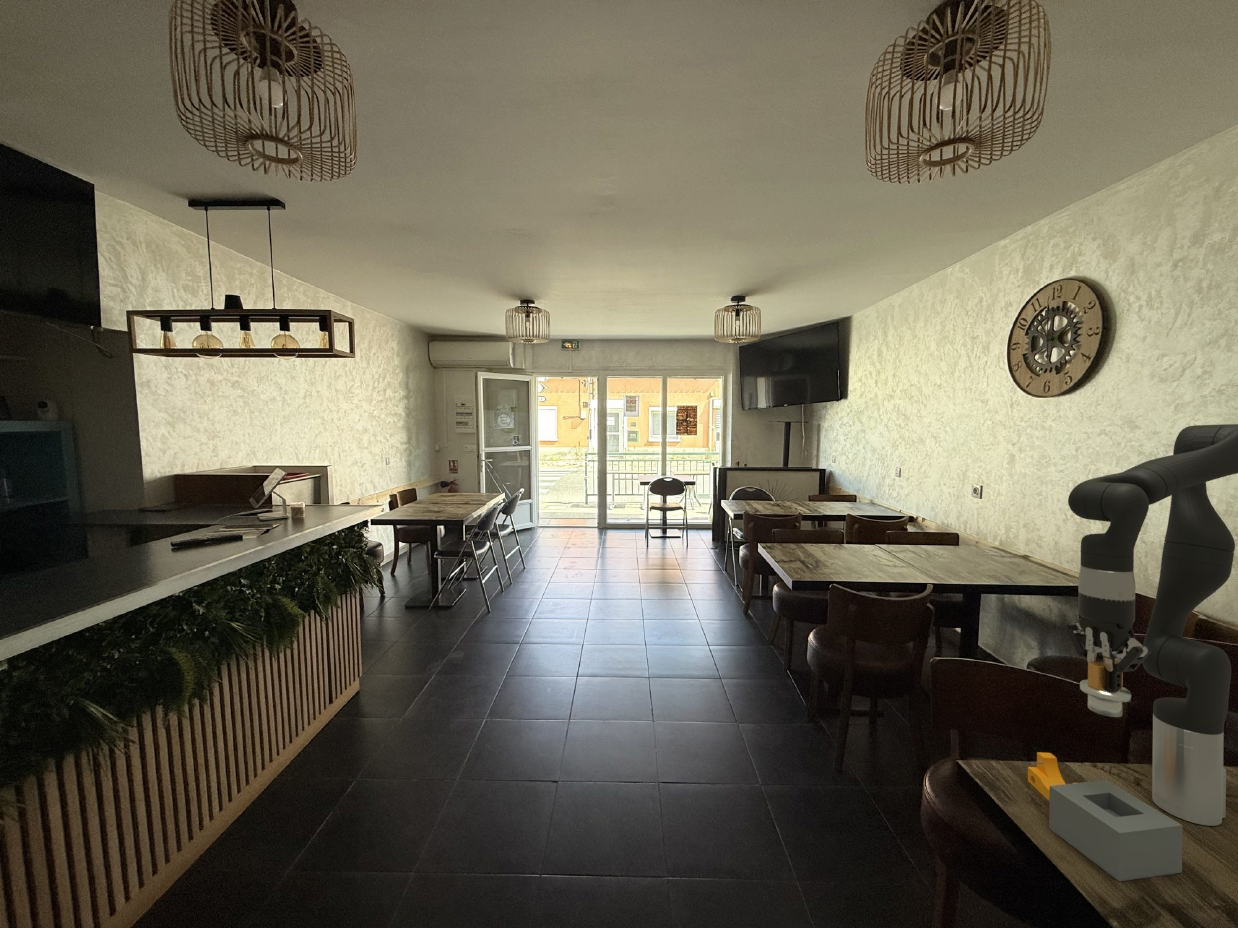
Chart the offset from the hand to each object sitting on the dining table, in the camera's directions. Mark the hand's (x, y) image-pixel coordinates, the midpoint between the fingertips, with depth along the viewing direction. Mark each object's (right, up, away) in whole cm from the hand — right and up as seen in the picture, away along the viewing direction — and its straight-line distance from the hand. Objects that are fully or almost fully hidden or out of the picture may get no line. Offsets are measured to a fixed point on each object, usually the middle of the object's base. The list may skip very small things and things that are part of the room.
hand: (1105, 687), depth 95 cm
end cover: (0, -4, 0) cm, 4 cm away
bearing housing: (-2, -27, -3) cm, 27 cm away
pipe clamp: (0, -27, +10) cm, 29 cm away
